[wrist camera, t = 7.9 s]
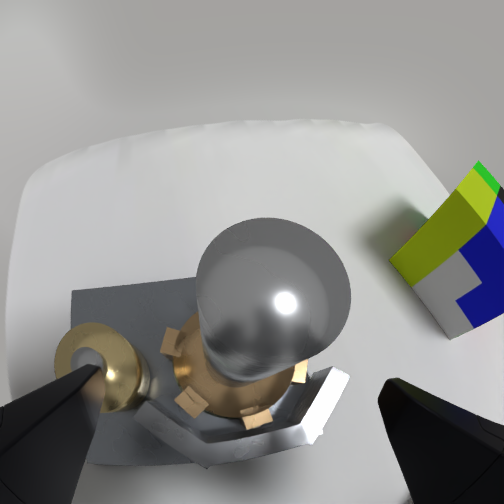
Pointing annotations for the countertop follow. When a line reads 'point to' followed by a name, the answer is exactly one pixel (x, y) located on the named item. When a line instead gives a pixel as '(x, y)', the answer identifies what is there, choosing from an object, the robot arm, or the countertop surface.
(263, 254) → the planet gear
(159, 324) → the carrier plate
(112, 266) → the countertop surface
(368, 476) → the countertop surface
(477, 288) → the puzzle toy
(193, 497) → the countertop surface
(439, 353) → the countertop surface
